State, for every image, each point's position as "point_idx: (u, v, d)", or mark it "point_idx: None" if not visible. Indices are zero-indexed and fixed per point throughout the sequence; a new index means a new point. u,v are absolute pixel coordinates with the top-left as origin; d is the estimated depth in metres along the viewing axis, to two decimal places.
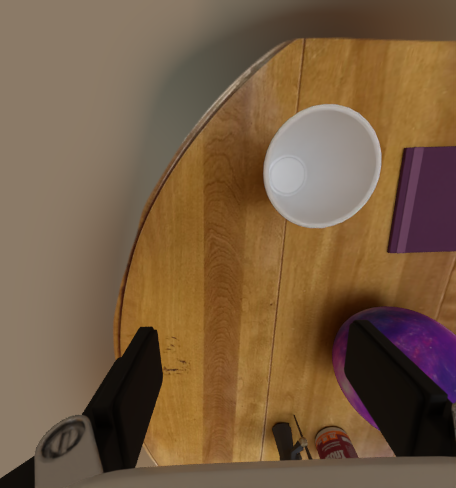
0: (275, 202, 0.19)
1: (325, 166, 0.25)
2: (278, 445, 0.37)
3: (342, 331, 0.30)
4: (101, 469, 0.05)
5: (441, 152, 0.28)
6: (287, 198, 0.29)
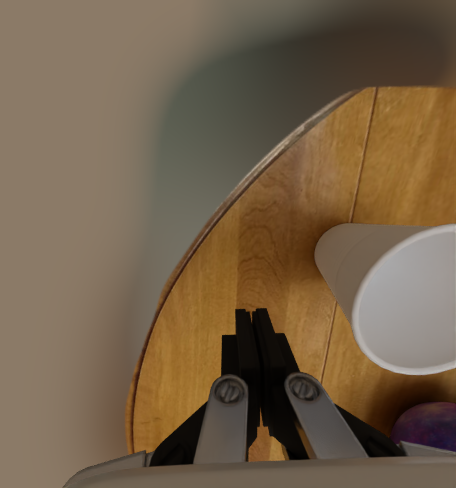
0: (365, 346, 0.14)
1: (402, 254, 0.19)
2: None
3: (406, 438, 0.24)
4: (244, 441, 0.06)
5: None
6: None
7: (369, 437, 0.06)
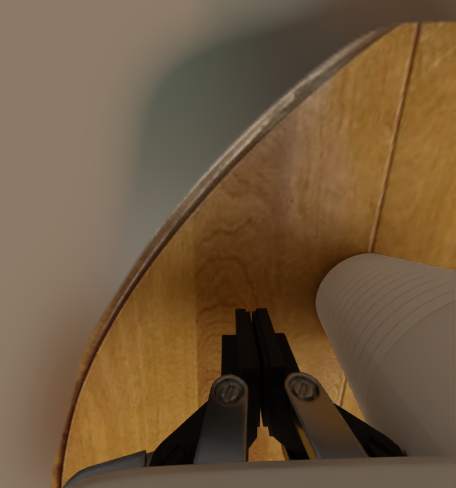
0: None
1: None
2: None
3: None
4: (245, 441, 0.06)
5: None
6: None
7: (369, 437, 0.06)
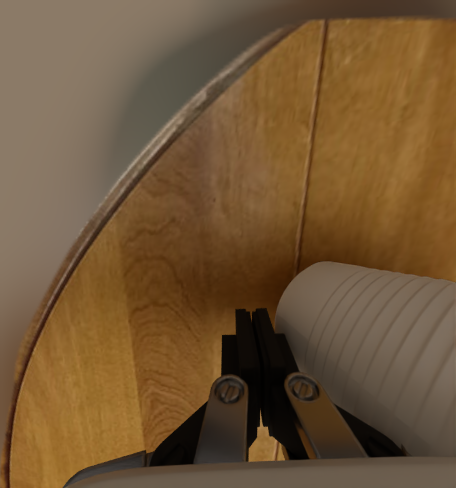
0: None
1: None
2: None
3: None
4: (244, 442, 0.06)
5: None
6: None
7: (369, 437, 0.06)
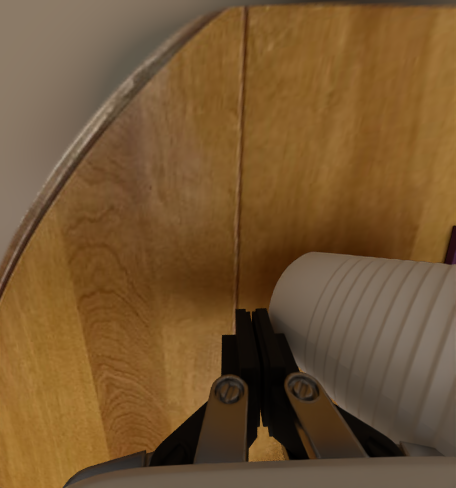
0: None
1: None
2: None
3: None
4: (244, 441, 0.06)
5: None
6: None
7: (369, 437, 0.06)
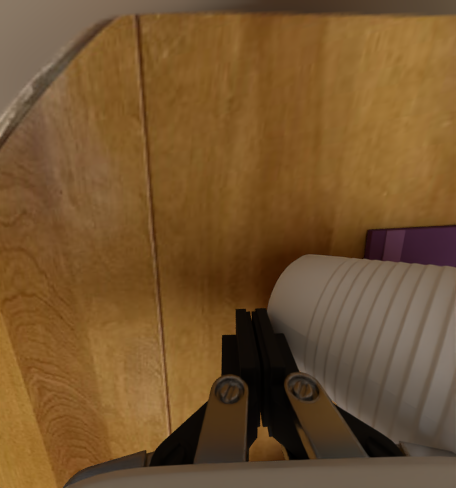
0: None
1: None
2: None
3: None
4: (245, 442, 0.06)
5: (439, 237, 0.15)
6: None
7: (368, 437, 0.06)
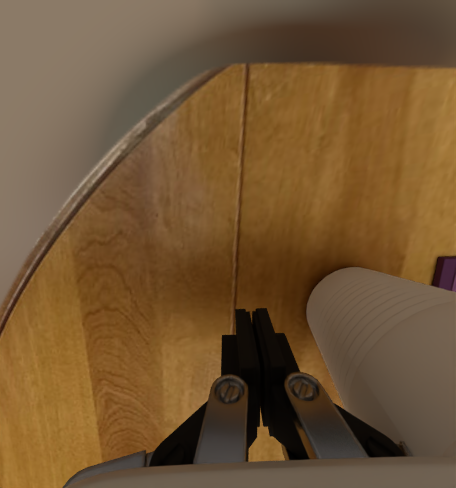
0: None
1: None
2: None
3: None
4: (244, 442, 0.06)
5: None
6: None
7: (369, 437, 0.06)
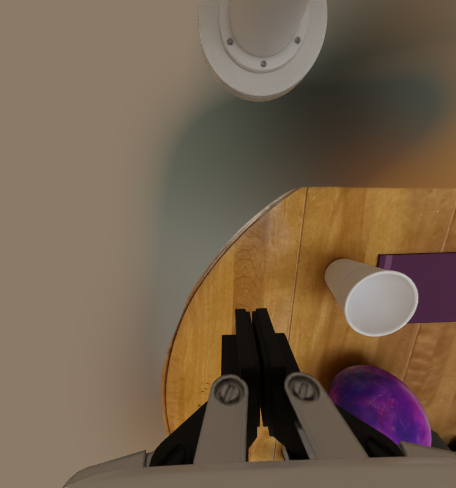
0: (350, 322, 0.30)
1: (372, 277, 0.36)
2: None
3: (334, 384, 0.41)
4: (244, 442, 0.06)
5: (405, 258, 0.39)
6: None
7: (369, 437, 0.06)
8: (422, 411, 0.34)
